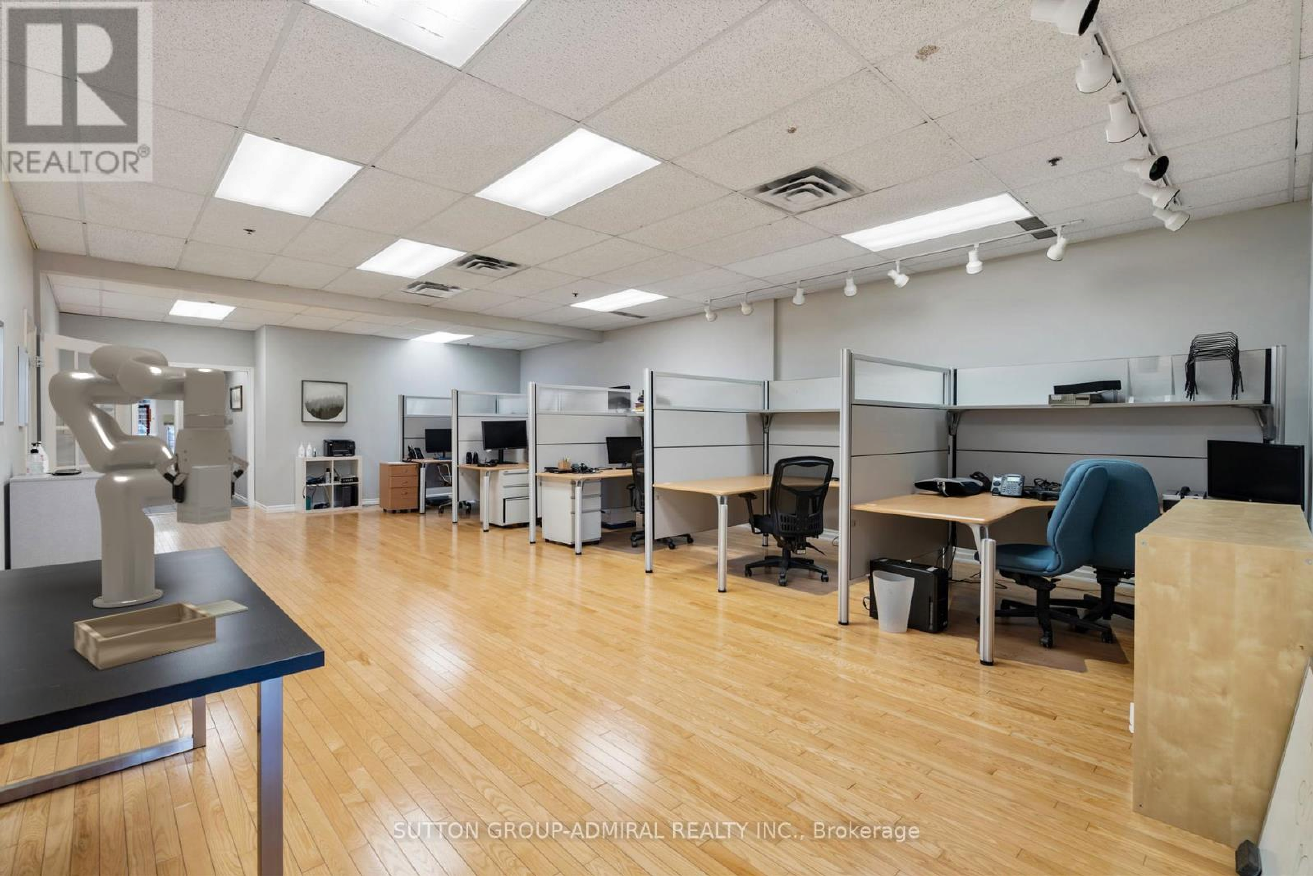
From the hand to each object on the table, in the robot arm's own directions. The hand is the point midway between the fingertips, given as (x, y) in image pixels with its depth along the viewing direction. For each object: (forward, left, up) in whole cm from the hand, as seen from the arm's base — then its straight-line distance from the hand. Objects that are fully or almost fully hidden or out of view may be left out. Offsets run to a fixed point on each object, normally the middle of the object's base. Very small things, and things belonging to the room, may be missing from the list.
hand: (204, 500), depth 133 cm
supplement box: (0, 0, -5) cm, 5 cm away
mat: (-1, +1, -26) cm, 26 cm away
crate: (+13, -14, -26) cm, 32 cm away
